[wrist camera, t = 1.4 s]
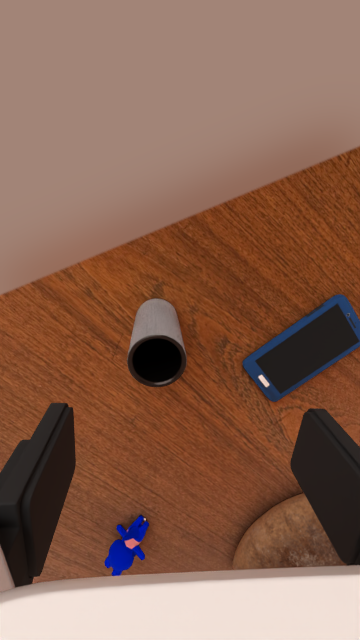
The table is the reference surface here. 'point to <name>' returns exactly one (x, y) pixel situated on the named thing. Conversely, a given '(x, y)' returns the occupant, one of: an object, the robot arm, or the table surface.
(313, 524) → the bread
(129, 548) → the figurine
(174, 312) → the planter
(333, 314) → the cell phone
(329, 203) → the table surface
